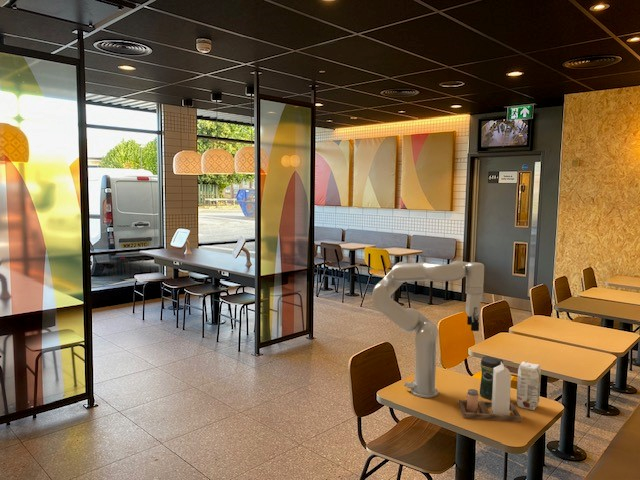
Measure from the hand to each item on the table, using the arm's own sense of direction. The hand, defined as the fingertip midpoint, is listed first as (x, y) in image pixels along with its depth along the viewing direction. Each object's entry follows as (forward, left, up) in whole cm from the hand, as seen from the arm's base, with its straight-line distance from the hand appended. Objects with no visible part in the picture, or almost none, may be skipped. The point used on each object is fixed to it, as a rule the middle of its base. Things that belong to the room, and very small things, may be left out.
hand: (472, 327), depth 214 cm
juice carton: (+24, -4, -34) cm, 41 cm away
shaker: (-1, -13, -33) cm, 36 cm away
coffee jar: (+10, +4, -34) cm, 35 cm away
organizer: (+6, -13, -33) cm, 36 cm away
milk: (+10, -13, -34) cm, 37 cm away
